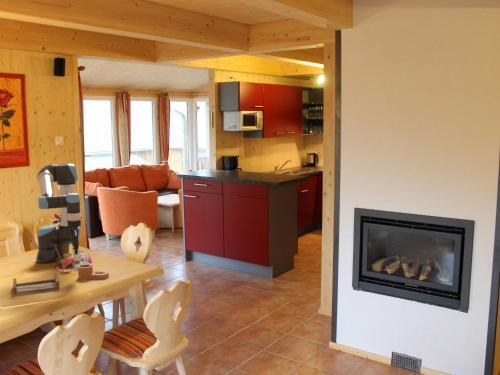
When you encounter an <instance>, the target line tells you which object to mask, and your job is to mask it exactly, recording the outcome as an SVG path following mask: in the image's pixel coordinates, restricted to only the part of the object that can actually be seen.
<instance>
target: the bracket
mask: <svg viewBox="0 0 500 375" xmlns="http://www.w3.org/2000/svg"><path fill="white" fill-rule="evenodd" d="M77 274H78V276H77V277H78V278H77V279H79V280H80V279H81V280H104V279H107V278H109V277H110V275H109V271H107V270H94V269H93V264H83V265H80V266H78V271H77Z"/></svg>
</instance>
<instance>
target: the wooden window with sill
mask: <svg viewBox="0 0 500 375" xmlns="http://www.w3.org/2000/svg"><path fill="white" fill-rule="evenodd" d="M12 283H13V284H12V287H13V288H12V290H13V297H17V296H24V295H32V294H38V293H45V292H52V291H53V292H54V291H60V279H59V276H58V273H54V274H53V278H51V279H44V280H43V279H42V280H36V281H27V282H20V283H17V278H13V280H12Z"/></svg>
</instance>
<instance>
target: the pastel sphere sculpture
mask: <svg viewBox="0 0 500 375" xmlns="http://www.w3.org/2000/svg"><path fill="white" fill-rule="evenodd" d="M78 250H79V259H78V260H74V258H73V253H69V254H68V253H65V254H64V255H63V256H62V257H63V258H60V260H59V261H58V262H57V263H56V264H55V265H54V268H55V269H57V271H59V272H61V273H70V272H71V273H72V272H78V266H80V265H83V264H91V265H93V263H94V261H93V259H92V257H91V255H90V253H89V252H87V254H84V251H82V249H78Z"/></svg>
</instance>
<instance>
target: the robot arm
mask: <svg viewBox="0 0 500 375" xmlns="http://www.w3.org/2000/svg"><path fill="white" fill-rule="evenodd" d="M78 177H79V176H78V172H77V167H76V164H74V163H57V164H53V163H52V164H51V163H50V164H47V165H45V166H43V167H42V168H41V169H40V170H39V171H38V173H37V177H36V178H37V179H36V180H37V182H38V183H39V188H40V189H39V190H40V196H39V197H38V198H37V200H38V201H37V203H38V209H40V210H47V209H48V210H49V209H52V210H53V209H60V216H61V217H60V218H61V220H62V221H61V223H60V222H59V223H60V224H59V223H58V225H59V227H58V226H56V224H47V225H44V226H41V227H39V228H38V229H37V235H36V236H37V246H38V247H37V248H38V250H37V255H36V257H35V262H36V263H39V264H51V263H56V262H60V261H61V256H60V254H59V252H58V249H57V244H65V243H71V245H72V254H73V258H74V260H78V259H79V250H80V249H79V248H80V246H79V240H80V236H81V226H82V215H81V212H82V211H81V198H80V194H79V193H76V192H74V191H75V190H74V187H75V185H76V183H77V182H78V181H79V178H78ZM54 183H56V184H57V186H58V187H59V194H60V195H58V194H57V195H55V188H54Z"/></svg>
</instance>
